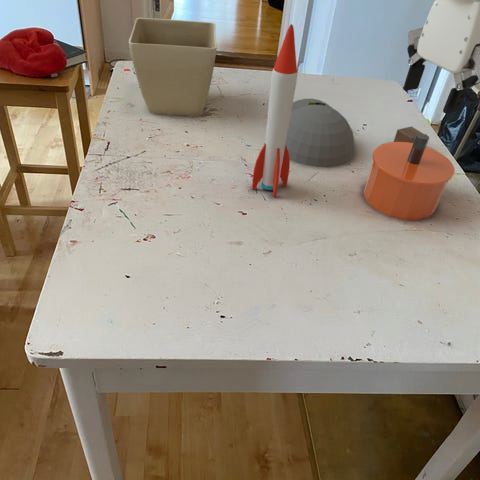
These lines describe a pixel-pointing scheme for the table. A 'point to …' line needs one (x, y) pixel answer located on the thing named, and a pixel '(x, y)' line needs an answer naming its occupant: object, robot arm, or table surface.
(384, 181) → the pot
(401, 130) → the block
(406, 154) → the lid
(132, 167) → the table surface
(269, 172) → the toy rocket
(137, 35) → the flower pot
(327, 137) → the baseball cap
